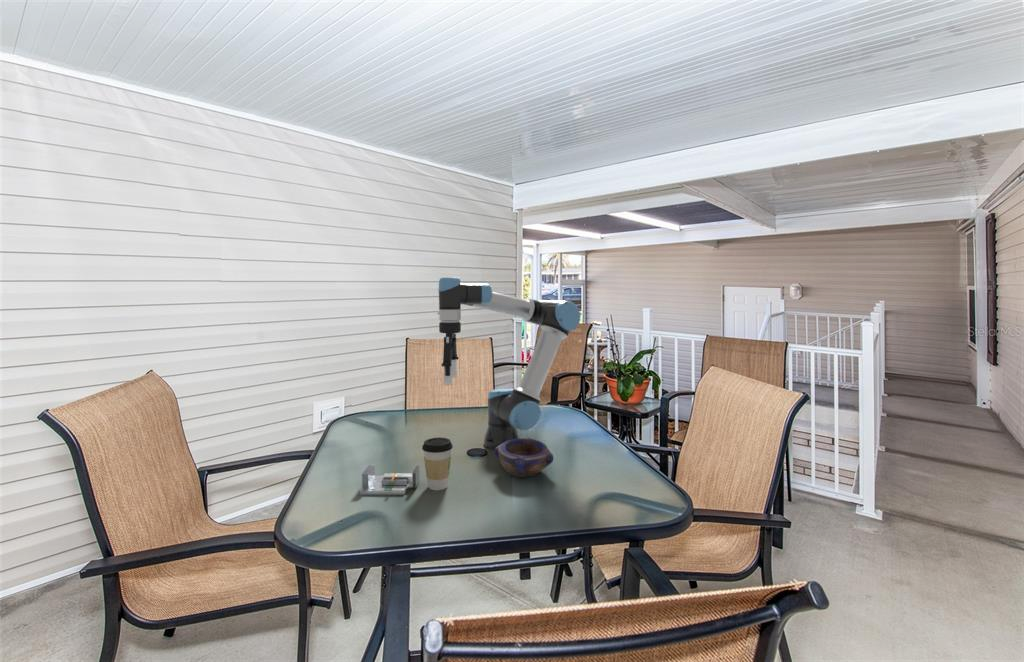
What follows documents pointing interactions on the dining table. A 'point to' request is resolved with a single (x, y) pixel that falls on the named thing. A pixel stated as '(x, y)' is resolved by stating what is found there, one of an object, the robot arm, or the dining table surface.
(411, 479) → the plunger
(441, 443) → the coffee cup
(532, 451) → the bowl
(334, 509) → the dining table surface
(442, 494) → the dining table surface
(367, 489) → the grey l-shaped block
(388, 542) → the dining table surface
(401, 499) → the dining table surface
